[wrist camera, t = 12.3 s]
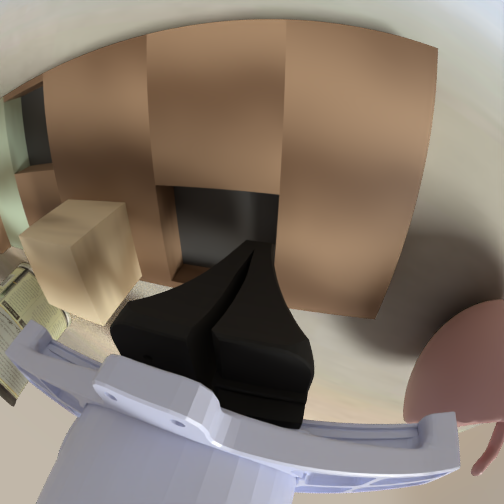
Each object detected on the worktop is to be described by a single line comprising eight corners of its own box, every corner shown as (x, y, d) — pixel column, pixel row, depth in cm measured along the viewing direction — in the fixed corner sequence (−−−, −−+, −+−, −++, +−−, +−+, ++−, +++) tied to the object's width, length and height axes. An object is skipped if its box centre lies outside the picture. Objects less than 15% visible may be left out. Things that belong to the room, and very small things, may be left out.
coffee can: (66, 334, 31) (15, 408, 20) (18, 284, 28) (-39, 350, 17) (78, 309, 25) (9, 405, 14) (20, 246, 23) (-58, 327, 11)
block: (142, 275, 16) (103, 326, 13) (87, 263, 17) (49, 303, 14) (125, 202, 14) (70, 247, 10) (68, 199, 15) (18, 235, 11)
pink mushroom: (368, 359, 19) (363, 500, 10) (460, 235, 12) (545, 420, 3) (463, 376, 19) (477, 481, 9) (545, 286, 12) (596, 401, 2)
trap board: (371, 295, 16) (377, 339, 13) (20, 235, 22) (-1, 252, 19) (421, 52, 8) (453, 44, 5) (-8, 109, 14) (-36, 120, 11)
